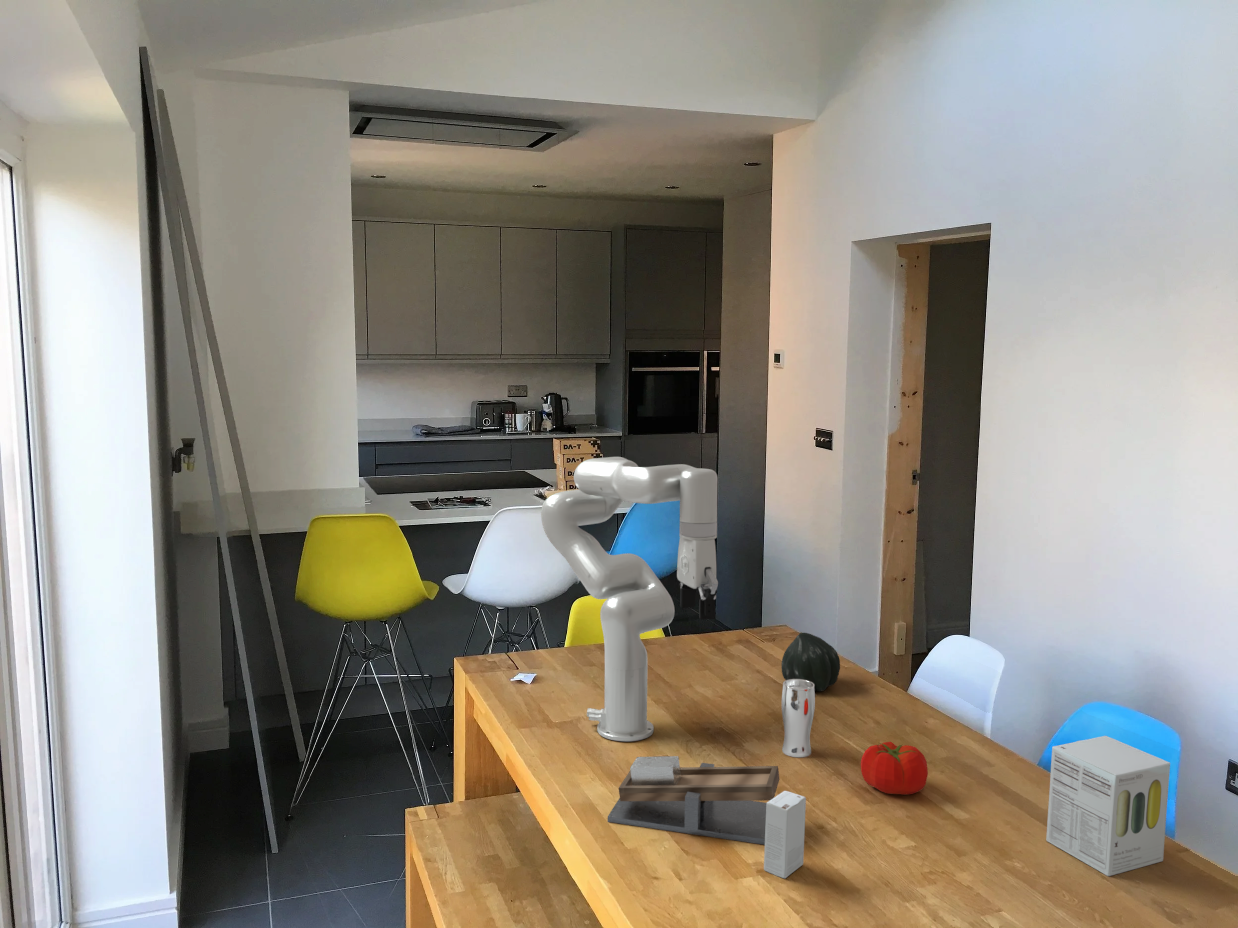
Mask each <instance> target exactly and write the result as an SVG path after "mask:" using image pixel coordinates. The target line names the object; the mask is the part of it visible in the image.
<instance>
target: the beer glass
mask: <svg viewBox="0 0 1238 928" xmlns="http://www.w3.org/2000/svg"><path fill="white" fill-rule="evenodd" d="M815 691H816V690H815V689H814V684H813V683H812V682H810V681H807V680H803V679H789V680H784V681H783V683H782V693H781V715H782V722H783V730H784V740H783V745H782V748H781V749H782V753H783V754H784V755H786V756H789V757H791V758H797V759H798V758H801V759H802V758H807V757H809V756H811V754H812V747H811V737H810V736H811V730H812V725H813V722H814V721H813V720H814V716H815V711H816V710H815V708H816V693H815Z"/></svg>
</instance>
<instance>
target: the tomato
mask: <svg viewBox="0 0 1238 928" xmlns="http://www.w3.org/2000/svg"><path fill="white" fill-rule="evenodd" d="M860 770H861V776H862V778H863V780H864V782H865V783H867V784H868V785H869V786H870V787H873V788H875V789H877V790H879V792H882V793H885V794H887V795H906V796H907V795H912V794H915V793H918V792H921V790H923V789H924V788H925V786H926V784H927V780H928V775H929V771H928V770H929V769H928V762H927V759H926V757H925V755H924V754H923V753H922V752H921V751H920V750H919V748H917V747H916V746H913V745H909V744H907V745H906V744H904V745H903V744H899V745H898V746H897V745H896V744H894V742H892V741H885V742H881V743H880V742H879V745H877V744H873V745H870V746H869V747H868V748H867V749H865V751H864V752H863V753H862V756H861V760H860Z"/></svg>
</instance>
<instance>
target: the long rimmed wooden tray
mask: <svg viewBox="0 0 1238 928" xmlns="http://www.w3.org/2000/svg"><path fill="white" fill-rule="evenodd" d="M680 772H681V778H680V780H679V782H678V784H677V785H646V786H633V785H632V778H631V770H629V771H628V773H627V774H626V776H625V777H624V779H623V780H622V782H621V784H620V785H619V786H618V794H619V798H620V801H685V796H686V794H687V792H694V793H701V801H757V802H763V801H767V802H768V801H770V800H771V799H773V798H774V797H776V792H777V790H778V786H779V782H780V773H779V765H766V766H765V765H762V766H761V765H759V766H758V765H756V766H751V765H750V766H749V765H748V766H747V765H746V766H714V767H700V766H695V767H694V766H693V767H692V766H691V767H690V766H689V767H681V766H680Z"/></svg>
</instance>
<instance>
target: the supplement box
mask: <svg viewBox="0 0 1238 928" xmlns="http://www.w3.org/2000/svg"><path fill="white" fill-rule="evenodd" d="M1050 760H1051V761H1050V762H1051V764H1050V776H1049V778H1050V779H1049V781H1050V782H1049V793H1048V807H1047V808H1048V810H1047V823H1046V824H1047V825H1046V838H1045V839H1046V842H1048V843H1050V844H1051V845H1053V846H1055V847H1056V848H1057V849H1059V850H1062V851H1064V853H1065V852H1066V853H1067V854H1069V855H1070V856H1072V857H1074V858H1076V859H1077V860H1079V861H1081V862H1083V863H1084V864H1087V865H1088V866H1089V867H1092V868H1093V869H1094V870H1097V871H1099V872H1100V873H1102V874H1104V876H1106V877H1111V876H1114V875H1119V874H1122V873H1125V872H1128V871H1133V870H1137V869H1140V868H1144V867H1146V866H1150V865H1153V864H1157V863H1160V862H1164V855H1165V853H1164V852H1165V840H1166V839H1165V838H1166V825H1167V814H1168V813H1167V811H1168V800H1169V799H1168V795H1169V783H1170V773H1171V772H1170V770H1171V762H1169V761H1167V760H1166V759H1165V760H1164V759H1162V758H1160V757H1158V756H1155V755H1153V754H1151V753H1148V752H1145V751H1143V750H1141V749H1139V748H1136V747H1134V746H1131V745H1129V744H1127V743H1124V742H1121V741H1120V740H1117V739H1115V738H1113V737H1109V736H1107V735H1103V736H1097V737H1093V738H1086V739H1083V740H1077V741H1074V742H1069V743H1065V744H1064V743H1063V744H1060V745H1053V746H1052V749H1051V759H1050Z"/></svg>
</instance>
